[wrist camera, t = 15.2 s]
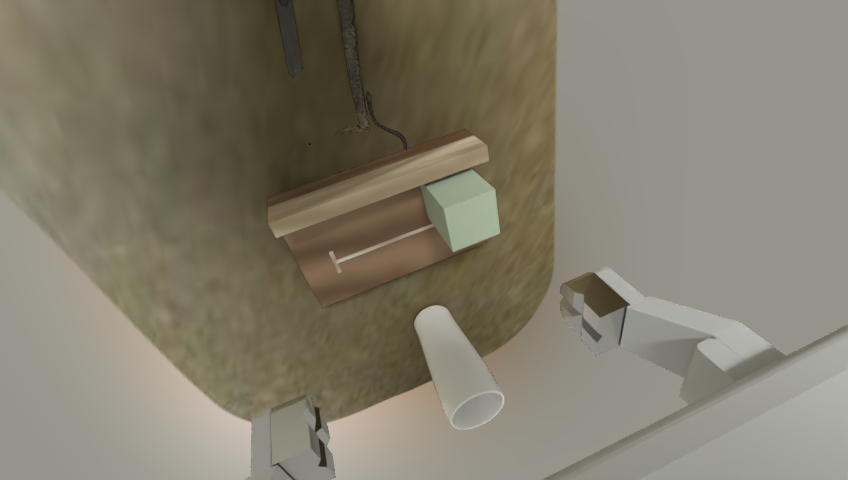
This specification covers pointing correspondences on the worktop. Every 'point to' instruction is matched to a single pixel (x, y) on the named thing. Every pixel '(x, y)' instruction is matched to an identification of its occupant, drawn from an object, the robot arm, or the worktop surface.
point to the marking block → (462, 208)
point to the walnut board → (371, 218)
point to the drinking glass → (457, 370)
